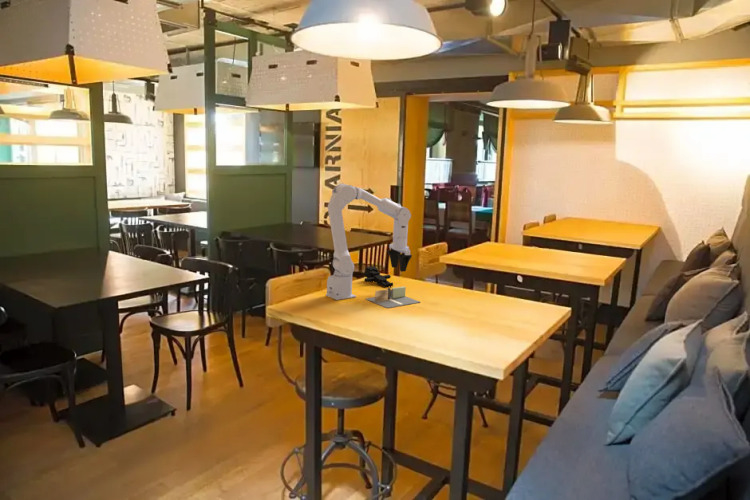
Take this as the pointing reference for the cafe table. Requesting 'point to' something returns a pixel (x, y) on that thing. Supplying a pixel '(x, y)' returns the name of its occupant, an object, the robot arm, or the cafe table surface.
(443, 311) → the cafe table surface
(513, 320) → the cafe table surface
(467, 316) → the cafe table surface
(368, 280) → the toy
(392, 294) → the fence panel
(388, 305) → the card
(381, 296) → the block
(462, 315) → the cafe table surface
